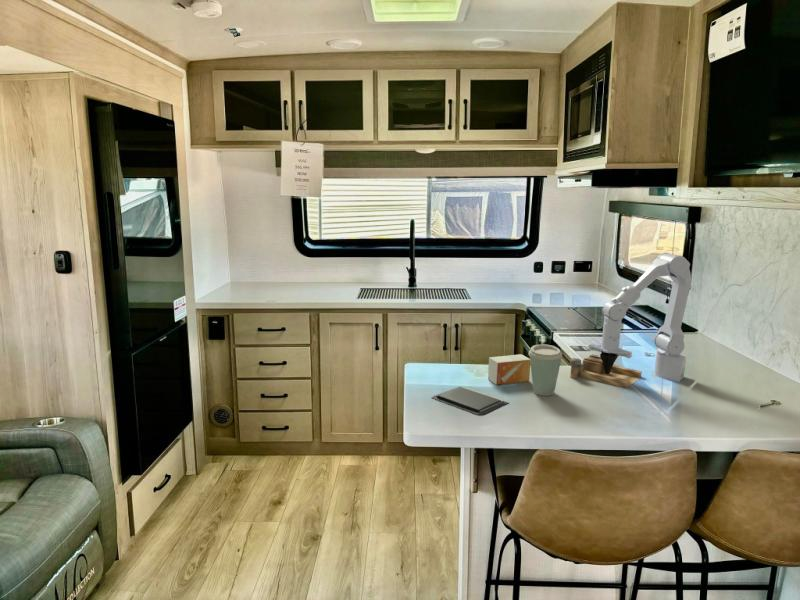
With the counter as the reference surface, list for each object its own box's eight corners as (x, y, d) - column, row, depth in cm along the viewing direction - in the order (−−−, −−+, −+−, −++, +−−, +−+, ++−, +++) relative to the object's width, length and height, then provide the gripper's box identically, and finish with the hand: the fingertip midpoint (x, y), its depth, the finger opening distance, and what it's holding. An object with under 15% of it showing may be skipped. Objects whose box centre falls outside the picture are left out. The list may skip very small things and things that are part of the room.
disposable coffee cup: (565, 397, 183) (568, 352, 180) (533, 399, 182) (536, 353, 178) (551, 385, 194) (554, 343, 190) (521, 387, 192) (523, 344, 189)
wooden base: (640, 378, 203) (643, 359, 201) (622, 392, 189) (625, 372, 187) (587, 366, 215) (589, 348, 213) (567, 379, 201) (568, 359, 199)
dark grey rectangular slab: (429, 393, 181) (461, 382, 191) (429, 399, 181) (460, 388, 192) (479, 412, 167) (510, 399, 177) (479, 418, 167) (510, 405, 178)
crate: (606, 372, 207) (607, 357, 206) (598, 377, 201) (599, 362, 200) (590, 368, 211) (591, 354, 209) (581, 373, 205) (582, 359, 203)
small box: (529, 381, 197) (496, 385, 193) (520, 375, 203) (487, 379, 199) (531, 359, 195) (497, 362, 191) (521, 353, 201) (488, 357, 197)
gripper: (586, 334, 201) (583, 371, 204) (628, 342, 192) (624, 380, 195) (594, 330, 207) (590, 366, 209) (635, 338, 198) (631, 375, 200)
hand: (607, 373), depth 203 cm, fingers closed
